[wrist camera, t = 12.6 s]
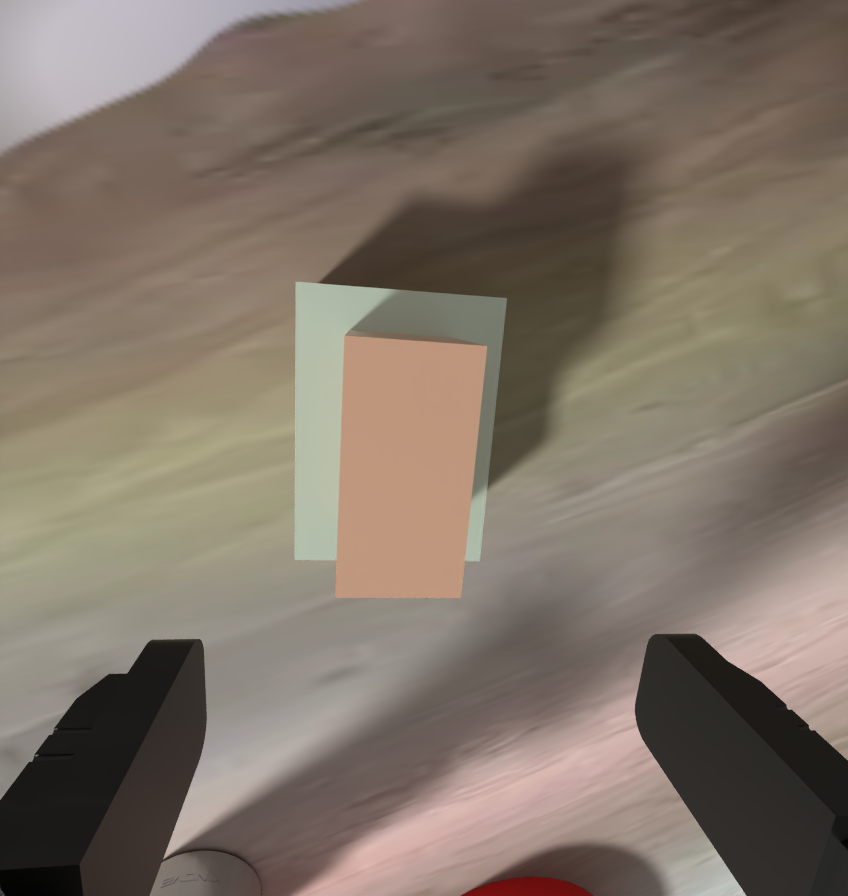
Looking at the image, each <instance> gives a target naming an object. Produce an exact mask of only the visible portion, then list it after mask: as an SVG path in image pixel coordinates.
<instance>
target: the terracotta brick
mask: <svg viewBox="0 0 848 896" xmlns="http://www.w3.org/2000/svg"><path fill="white" fill-rule="evenodd" d="M486 354H487V346H486V345H481V344H477V343H473V342H469V341H465V340H461V339H457V338H452V337H438V336H425V335H411V334H397V333H384V332H370V331H357V330H349V331H348V332H347V333H346V334H345V336H344V361H343V390H342V418H341V447H340V475H339V504H338V533H337V561H336V590H335V598H461V593H462V583H463V574H464V564H465V555H466V545H467V536H468V526H469V516H470V507H471V497H472V488H473V478H474V469H475V459H476V450H477V440H478V430H479V421H480V411H481V402H482V392H483V383H484V373H485V364H486Z"/></svg>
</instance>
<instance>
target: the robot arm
mask: <svg viewBox="0 0 848 896" xmlns="http://www.w3.org/2000/svg"><path fill="white" fill-rule="evenodd" d="M635 715H636V721H637V726H638V729H639V732H640V735H641V737H642V739H643V741H644V742H645V744H646V746H647V747H648V749H649V750H650V752H651V753H652V755H653V756H654V758H655V759H656V761H657V762H658V764H659V765H660V767H661V768H662V770H663V771H664V773H665V774H666V776H667V777H668V779H669V780H670V782H671V783H672V785H673V786H674V788H675V789H676V791H677V792H678V794H679V795H680V797H681V798H682V800H683V801H684V803H685V804H686V806H687V807H688V809H689V810H690V812H691V813H692V815H693V816H694V818H695V819H696V821H697V822H698V824H699V825H700V827H701V828H702V830H703V831H704V833H705V834H706V836H707V837H708V839H709V840H710V842H711V843H712V845H713V846H714V848H715V849H716V851H717V852H718V854H719V855H720V857H721V858H722V860H723V861H724V863H725V864H726V866H727V867H728V869H729V870H730V872H731V873H732V874H733V876H734V877H735V879H736V880H737V882H738V883H739V885H740V886H741V888H742V889H743V891H744V892H745V894H746V895H747V896H848V760H846V759H845V758H844V757H843V756H842V755H841V754H840V753H839V752H838V751H837V750H835V749H834V748H833V747H832V746H831V745H830V744H829V743H828V742H827V741H826V740H824V739H823V738H822V737H821V736H820V735H819V734H818V733H817V732H816V731H815V730H813V731H811V730H810V729H809V725H808V724H807V723H806V722H805V721H804V720H802V719H801V718H800V717H799V716H798V715H797V714H796V713H795V712H794V711H793V710H788V709H787V707H786V704H785V703H784V702H783V701H782V700H781V699H779V698H778V697H777V696H776V695H775V694H774V693H773V692H772V691H771V690H770V689H768V688H767V687H766V686H765V685H764V684H763V683H762V682H761V681H759V680H758V679H756V678H754V677H753V676H751V675H749V674H748V673H746V672H744V671H743V670H741V669H739V668H738V667H736V666H735V665H733V664H731V663H730V662H728V661H727V660H726V659H724V658H723V657H722V656H721V655H720V654H719V653H718V652H717V651H716V650H715V649H714V648H713V647H712V646H711V645H710V644H708V643H707V642H706V641H705V640H704V639H703V638H702V637H701V636H699V635H697V634H655V635H653V636H652V637H651V638H650V639H649V641H648V644H647V648H646V653H645V658H644V663H643V668H642V673H641V678H640V683H639V688H638V693H637V698H636V703H635ZM206 720H207V713H206V690H205V668H204V648H203V644H202V641H201V640H200V639H175V640H151V641H150V642H148V644H147V645H146V646H145V648H144V649H143V651H142V652H141V654H140V655H139V657H138V658H137V660H136V661H135V663H134V664H133V666H132V667H131V669H130V670H129V672H128V673H127V674H109V675H107V676H106V677H105V678H103V679H102V680H101V681H99V682H98V683H97V684H95V685H94V686H93V687H91V688H90V689H89V690H87V691H86V692H85V693H83V694H82V695H81V696H79V697H78V698H77V699H76V700H75V701H74V703H73V704H72V705H71V707H70V708H69V709H68V711H67V712H66V713H65V715H64V716H63V717H62V719H61V720H60V721H59V723H58V724H57V725H56V727H55V728H54V732H53V734H52V735H49V736H48V737H47V739H46V740H45V741H44V743H43V744H42V745H41V747H40V748H39V749H38V751H37V752H36V753H35V755H34V759H33V761H32V762H29V763H28V764H27V765H26V767H25V768H24V769H23V771H22V772H21V773H20V775H19V776H18V777H17V779H16V780H15V781H14V783H13V784H12V785H11V787H10V788H9V789H8V791H7V792H6V793H5V795H4V796H3V797H2V799H1V800H0V896H261V885H260V882H259V878H258V876H257V875H256V873H255V872H254V870H253V869H252V868H251V867H250V866H249V865H248V864H247V863H246V862H244V861H242V860H240V859H239V858H237V857H235V856H232V855H229V854H226V853H222V852H216V851H194V852H187V853H183V854H180V855H177V856H174V857H172V858H170V859H168V860H166V861H164V862H162V861H163V858H164V855H165V852H166V850H167V847H168V844H169V842H170V839H171V836H172V833H173V831H174V828H175V825H176V822H177V820H178V817H179V814H180V812H181V809H182V806H183V803H184V801H185V798H186V795H187V793H188V790H189V787H190V784H191V782H192V779H193V776H194V773H195V771H196V768H197V765H198V763H199V760H200V756H201V753H202V749H203V744H204V739H205V732H206Z"/></svg>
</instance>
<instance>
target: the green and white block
mask: <svg viewBox="0 0 848 896" xmlns="http://www.w3.org/2000/svg"><path fill="white" fill-rule="evenodd" d="M506 304H507V298H498V297H485V296H473V295H460V294H447V293H434V292H421V291H408V290H395V289H383V288H370V287H357V286H344V285H331V284H318V283H305V282H296V360H295V560H337V533H338V504H339V475H340V447H341V418H342V390H343V361H344V336H345V334H346V333H347V332H348V331H349V330H357V331H370V332H384V333H397V334H411V335H425V336H438V337H452V338H457V339H461V340H465V341H469V342H473V343H477V344H481V345H486V346H487V354H486V364H485V373H484V383H483V392H482V402H481V411H480V421H479V430H478V440H477V450H476V459H475V469H474V478H473V488H472V497H471V507H470V516H469V526H468V536H467V545H466V555H465V561H480V552H481V543H482V533H483V524H484V514H485V505H486V495H487V486H488V476H489V467H490V457H491V447H492V438H493V428H494V419H495V409H496V400H497V390H498V381H499V371H500V362H501V352H502V343H503V333H504V323H505V314H506Z"/></svg>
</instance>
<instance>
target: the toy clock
mask: <svg viewBox="0 0 848 896" xmlns="http://www.w3.org/2000/svg"><path fill="white" fill-rule="evenodd" d="M462 896H593V895H592V894H590V893H589V892H587V891H586V890H584V889H582V888H581V887H579V886H576V885H574V884H571V883H569V882H566V881H561V880H557V879H552V878H541V877H525V878H513V879H508V880H503V881H499V882H494V883H491V884H488V885H485V886H482V887H479V888H476V889H474V890H472V891H470V892H468V893H466V894H464V895H462Z"/></svg>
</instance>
